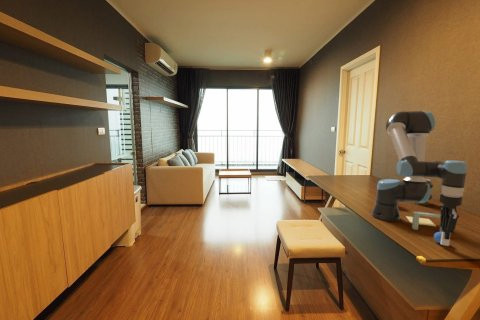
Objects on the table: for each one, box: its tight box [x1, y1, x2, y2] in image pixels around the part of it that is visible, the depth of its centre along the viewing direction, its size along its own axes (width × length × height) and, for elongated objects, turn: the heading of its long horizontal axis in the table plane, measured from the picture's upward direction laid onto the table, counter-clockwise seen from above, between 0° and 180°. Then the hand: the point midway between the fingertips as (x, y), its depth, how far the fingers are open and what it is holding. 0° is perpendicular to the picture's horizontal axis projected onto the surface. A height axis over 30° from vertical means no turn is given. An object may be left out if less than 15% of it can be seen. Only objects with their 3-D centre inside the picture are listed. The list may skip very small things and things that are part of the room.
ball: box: [433, 231, 442, 244], centre depth 116 cm, size 6×6×6 cm
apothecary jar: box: [416, 178, 434, 206], centre depth 178 cm, size 12×12×18 cm
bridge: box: [411, 210, 442, 232], centre depth 130 cm, size 3×14×9 cm, turn 69°
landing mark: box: [405, 215, 437, 227], centre depth 144 cm, size 12×12×1 cm
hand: (444, 244), depth 112 cm, fingers closed
